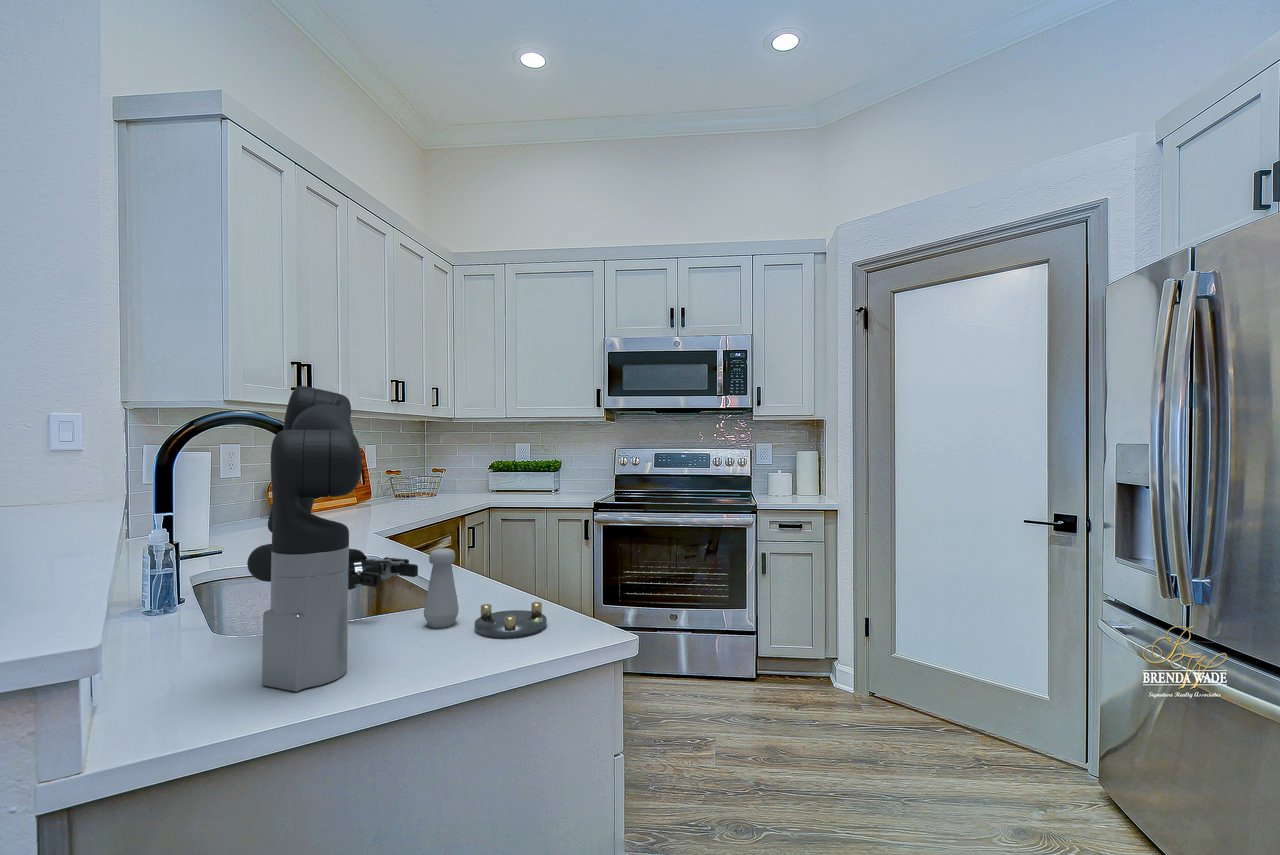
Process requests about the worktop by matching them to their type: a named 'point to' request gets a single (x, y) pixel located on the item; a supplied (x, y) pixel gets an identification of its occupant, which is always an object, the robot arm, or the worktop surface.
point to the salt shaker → (441, 590)
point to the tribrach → (510, 622)
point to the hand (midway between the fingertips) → (398, 575)
